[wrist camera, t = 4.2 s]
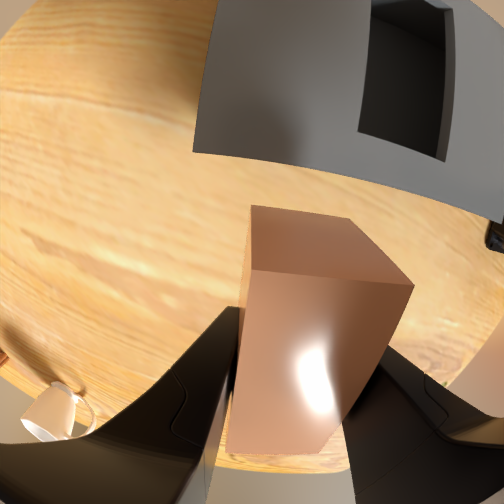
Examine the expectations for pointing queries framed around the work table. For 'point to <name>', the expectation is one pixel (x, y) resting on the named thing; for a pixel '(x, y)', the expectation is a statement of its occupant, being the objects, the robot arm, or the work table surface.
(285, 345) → the block
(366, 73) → the box
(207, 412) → the robot arm
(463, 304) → the work table surface
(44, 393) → the cup
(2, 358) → the arch
